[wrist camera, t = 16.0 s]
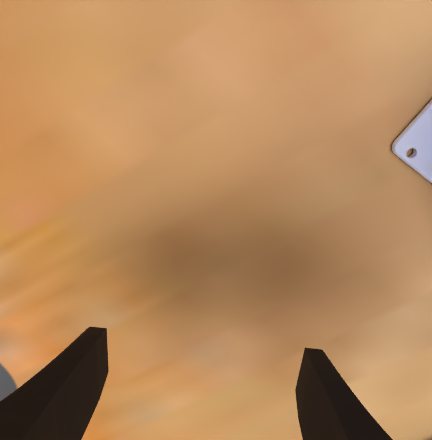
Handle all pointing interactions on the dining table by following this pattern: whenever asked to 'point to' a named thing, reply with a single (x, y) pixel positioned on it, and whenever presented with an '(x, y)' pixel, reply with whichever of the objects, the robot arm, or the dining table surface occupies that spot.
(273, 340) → the dining table surface
